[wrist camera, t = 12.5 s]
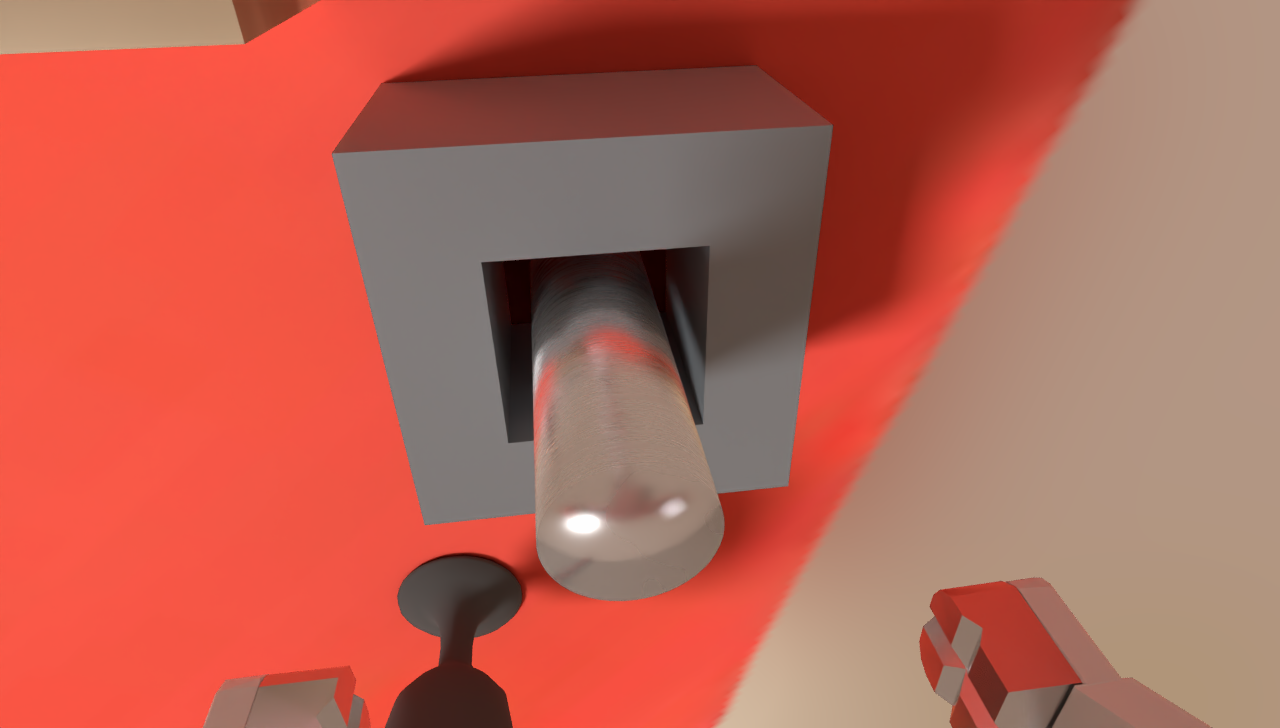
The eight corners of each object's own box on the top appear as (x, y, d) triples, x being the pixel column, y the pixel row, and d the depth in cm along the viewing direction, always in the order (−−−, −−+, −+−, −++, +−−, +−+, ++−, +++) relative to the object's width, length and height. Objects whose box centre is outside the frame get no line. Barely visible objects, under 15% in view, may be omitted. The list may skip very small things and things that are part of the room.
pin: (524, 199, 21) (526, 475, 11) (633, 192, 22) (729, 455, 12) (534, 296, 23) (544, 610, 13) (635, 288, 23) (720, 589, 13)
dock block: (381, 82, 19) (331, 153, 14) (756, 65, 20) (833, 125, 15) (444, 395, 25) (424, 525, 20) (736, 369, 26) (788, 486, 21)
